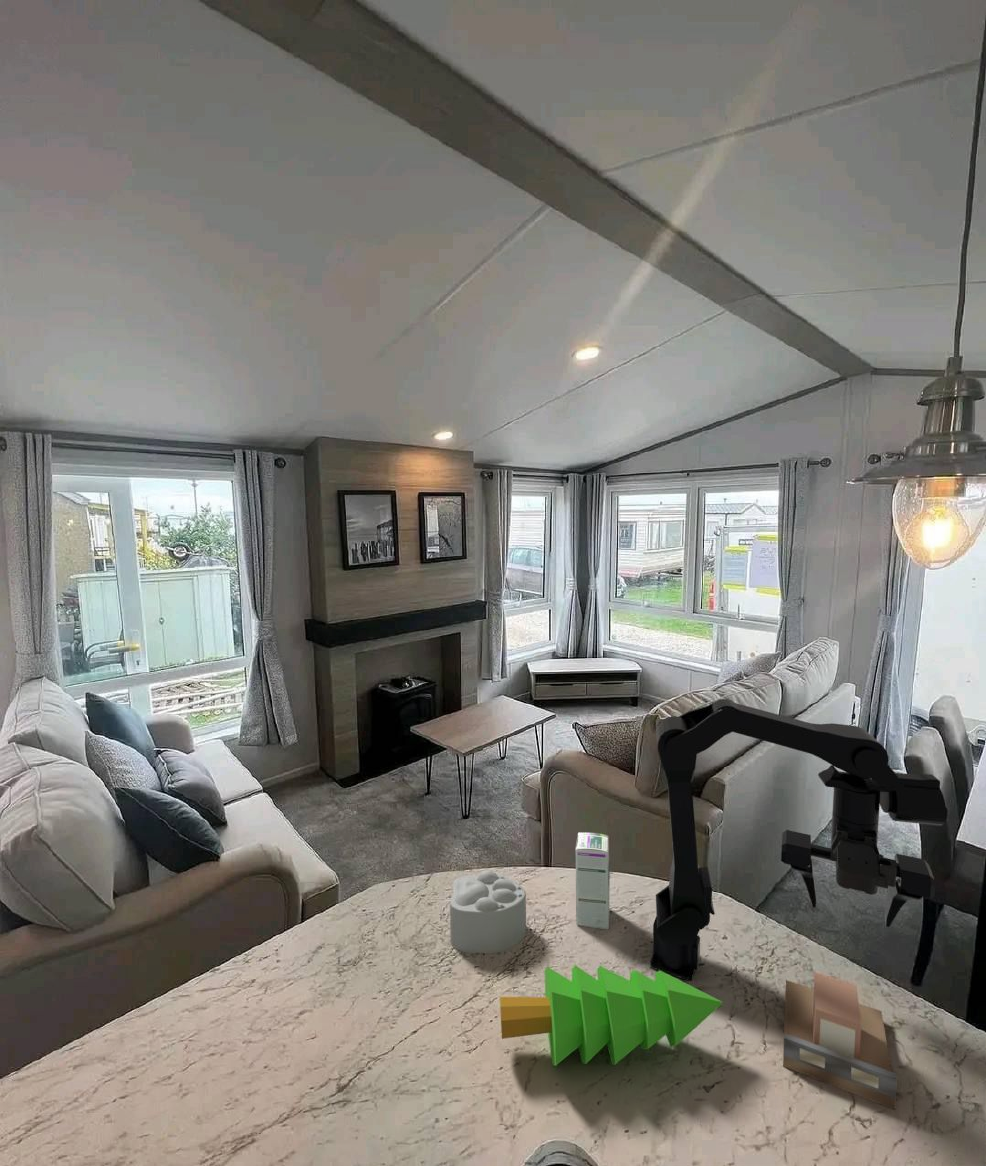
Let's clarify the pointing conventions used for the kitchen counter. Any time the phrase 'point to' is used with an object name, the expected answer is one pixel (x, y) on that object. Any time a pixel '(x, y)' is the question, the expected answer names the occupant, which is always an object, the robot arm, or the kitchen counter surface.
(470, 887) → the lumpy-topped squat cylinder
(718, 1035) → the kitchen counter surface
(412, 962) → the kitchen counter surface
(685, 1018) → the decorative tree
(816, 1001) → the product carton
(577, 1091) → the kitchen counter surface
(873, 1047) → the tan banded flat block
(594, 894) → the syrup box
